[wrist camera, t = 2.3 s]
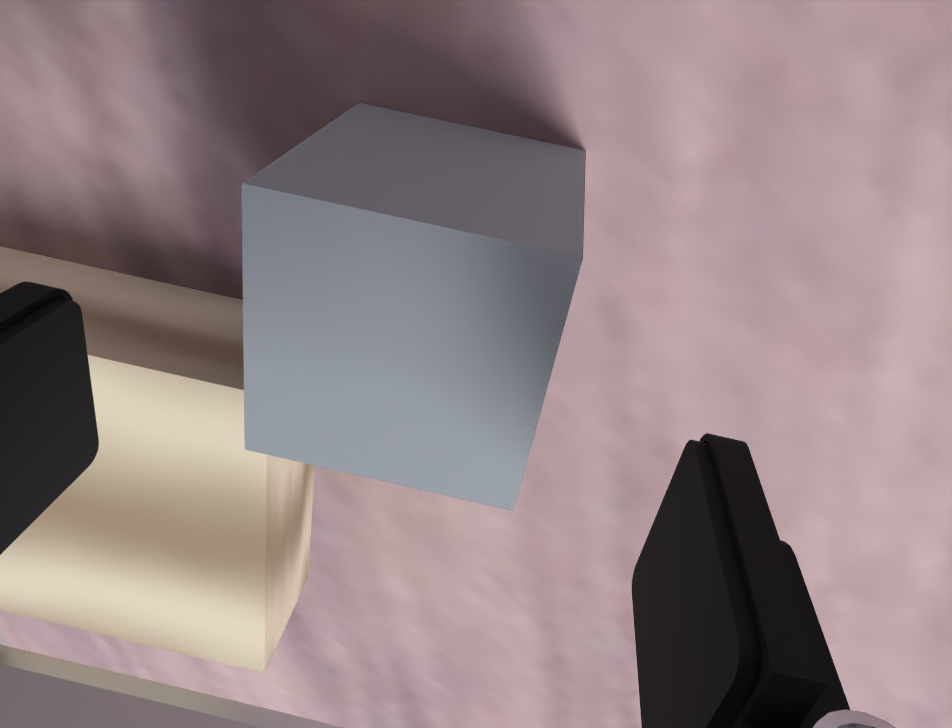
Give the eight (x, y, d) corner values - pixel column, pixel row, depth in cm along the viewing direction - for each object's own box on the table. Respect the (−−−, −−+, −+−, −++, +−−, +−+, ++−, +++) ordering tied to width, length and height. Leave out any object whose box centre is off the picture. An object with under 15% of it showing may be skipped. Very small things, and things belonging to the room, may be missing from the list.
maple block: (-35, 231, 19) (-175, 295, 15) (327, 311, 18) (267, 395, 15) (30, 502, 24) (-63, 594, 20) (311, 568, 24) (264, 673, 20)
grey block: (359, 101, 15) (241, 182, 10) (585, 150, 15) (583, 257, 10) (344, 304, 18) (244, 449, 13) (535, 346, 18) (513, 510, 12)
